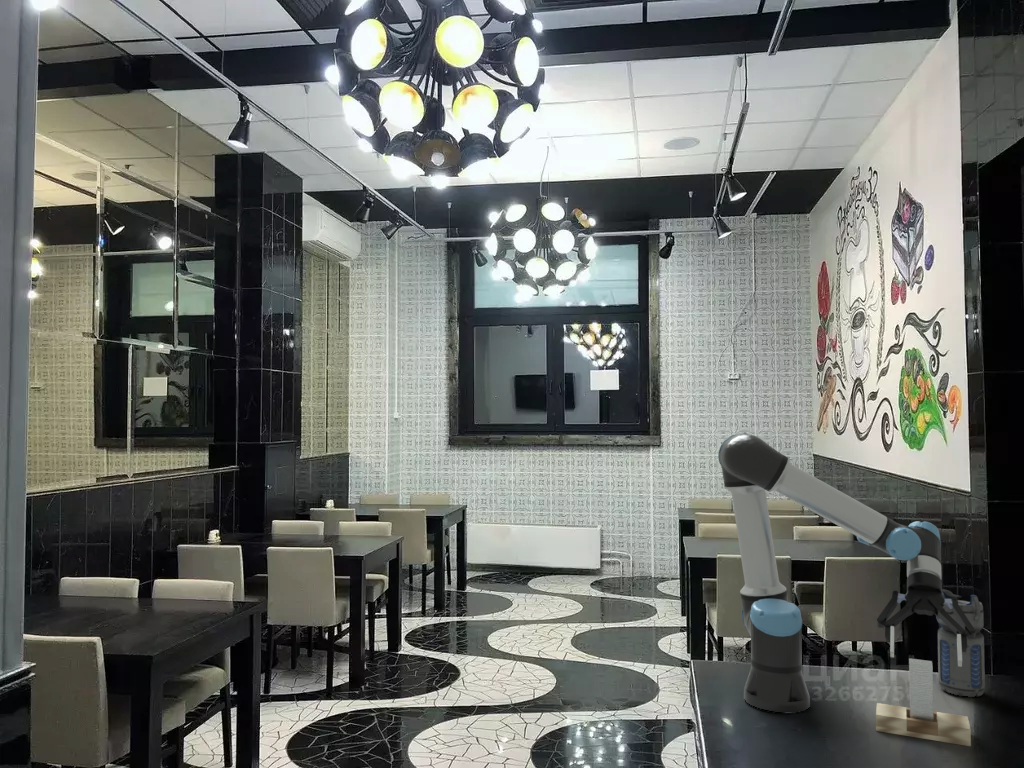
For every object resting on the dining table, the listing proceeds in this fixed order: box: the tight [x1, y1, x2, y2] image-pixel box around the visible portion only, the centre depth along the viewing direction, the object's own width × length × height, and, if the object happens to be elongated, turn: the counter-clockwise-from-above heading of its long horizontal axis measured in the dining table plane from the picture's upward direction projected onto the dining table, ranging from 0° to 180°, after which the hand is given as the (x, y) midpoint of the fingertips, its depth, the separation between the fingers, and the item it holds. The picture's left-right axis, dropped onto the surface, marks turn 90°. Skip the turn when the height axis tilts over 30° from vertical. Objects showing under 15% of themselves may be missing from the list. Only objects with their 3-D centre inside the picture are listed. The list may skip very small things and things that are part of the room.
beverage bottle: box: [935, 588, 986, 698], centre depth 199 cm, size 10×13×25 cm
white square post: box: [908, 658, 934, 722], centre depth 173 cm, size 4×4×14 cm
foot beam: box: [875, 702, 972, 747], centre depth 172 cm, size 18×8×4 cm, turn 64°
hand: (925, 659), depth 178 cm, fingers open, 13 cm apart
